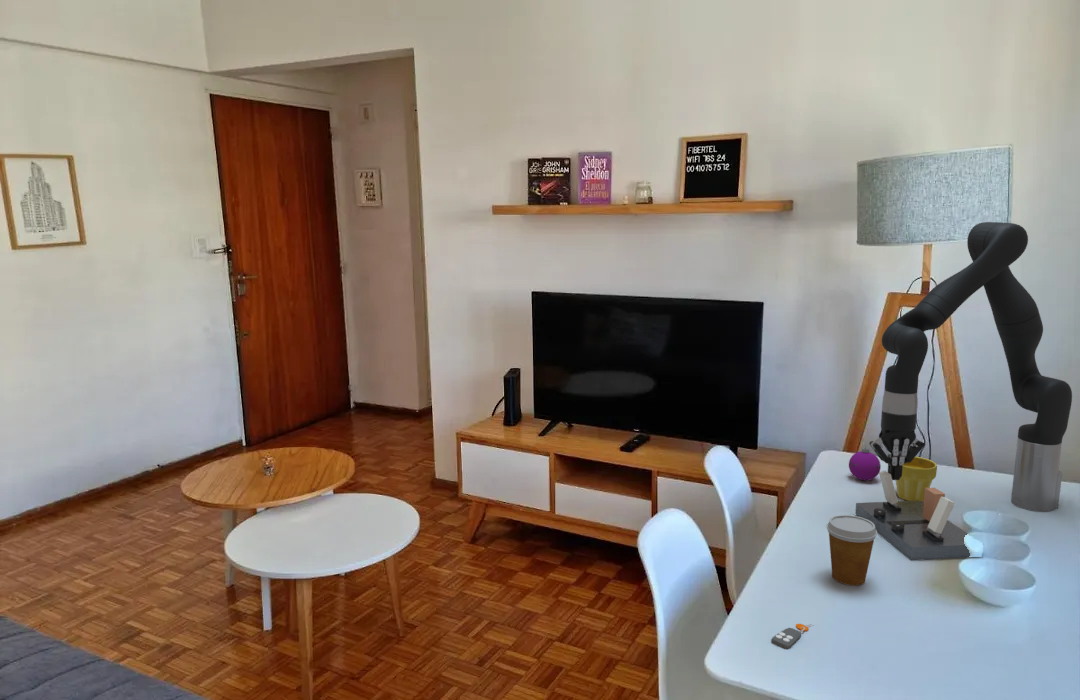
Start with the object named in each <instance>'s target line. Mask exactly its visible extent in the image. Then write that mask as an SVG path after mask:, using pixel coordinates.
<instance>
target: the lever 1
mask: <svg viewBox="0 0 1080 700" xmlns="http://www.w3.org/2000/svg"><path fill="white" fill-rule="evenodd" d="M878 475H879V477H880V478H879V479H880V482H881V487H882V489H883V490H882V491H883V493H884V498H885V501H886V502H889V503H890V504H891V505H893V506H894V507H896V508H897V507H898V505H897V504H896V503H898V501H899V500H898V497H897V493H896V490H895V486H894V482H893V481H894V480H892V477H891V474H889V473H888V471H887V470H881V471H880V472H879V474H878Z"/></svg>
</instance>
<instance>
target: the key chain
mask: <svg viewBox="0 0 1080 700" xmlns="http://www.w3.org/2000/svg"><path fill="white" fill-rule="evenodd" d="M813 626H815V625H814V624H812V623H809V624H802V623H796V624H795V627H796V628H797V629H798V630H797V629H796V628H793V627H788V628H785V629H783V630H782V631H780V632H779V633H777V634H775V635H774V636H772V638H771V639H770V642H771V643H772V644H773V645H775V646H778V647H780V648H781V649H785V650H789V649H791V648H792V647H793V646H794V645H795V644H797V642H798V641H799V640H800V639H801V637H802V633H803V632H808V631H809V628H811V627H813Z"/></svg>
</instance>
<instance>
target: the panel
mask: <svg viewBox="0 0 1080 700" xmlns="http://www.w3.org/2000/svg"><path fill="white" fill-rule="evenodd" d="M897 501H898V503H896V504H897V505H898V507H897V508H896V507H894V506H893V505H891V504H890V503H889V502H887V501H873V502H871V501H870V502H856V503H855V512H854V513H855V514H856V515H855V516H858V517H862V518H865V519H867V520H869V521H871V522H872V523H874V525H875V529H876V531H877V534H879V536H881V537H882V538H883V539H884V540H886V541H887V542H889V544H891V545H892V546H893V547H894V548H895V549H897V550H898V551H899V552H900V553H901V554H903V555H904V556H905V558H906V557H907V558H908V559H909V560H910V561H922V560H923V561H926V560H948V559H949V560H950V559H968V558H967V557H969V556H970V553H969V550H968V549H967V547H966V546H965V544H964V537H965V535H967V534H969V533H968V532H966V531H965V530H964V529H962V528H960V527H959V526H958V525H956V524H955V523H953V522H951V521H950V520H947V522H946V524H945V526H944V528H943V531H942V533H941V534H939V533H938V534H939V535H940V537H939V538H937V537H936V536H934V535H933V534H932V533H930V532H929V531H927V527H928V525H929V521H928V520H927V519H925V518H924V517H922V516H923V504H924V502H922V501H921V502H920V501H907V500H903V501H902V500H897Z"/></svg>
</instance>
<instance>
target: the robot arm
mask: <svg viewBox="0 0 1080 700" xmlns="http://www.w3.org/2000/svg"><path fill="white" fill-rule="evenodd" d="M966 242H967V250H968V253H969V255H970V258H971V260H972V262H971V263H970V264H969V265H967V266H966V267H964V268H963V269H961V270H959V271H958V272H957V273H955V274H952V275H951V276H949V277H947V278H946V279H944V280H943V281H941V282H939V283H938V284H936V285H935V286H934V287H933V288H932V289H931V290H929V292H927V294H925V296H924V297H923V298H922V299H921V300H920V301H919V302H918V304H916V306H915V307H913V308H912V309H911V310H909V311H907V312H906V313H904V314H903V315H901V316H900V317H898V318H897V319H895V320H894V321H893V322H892V323H891V324H889V326H887V327H886V329H885V330H884V332H883V334H882V337H881V345H882V347H883V349H884V350H885V351H886V352H888V353H890V354H893V355H897V359H896V360H897V361H896V363H895V364H893V365H890V366H888V367H887V368H886V370H885V378H884V390H883V396H882V403H881V404H882V405H881V415H880V416H881V419H880V428H881V429H880V431H879V434H878V438H876V439H875V440H874V441H873V440H871V441H869V443H868V444H869V446H870V447H871V449H872V450H873V451H874V453H875V454H876V456H877V458H878V459H879V460H880V461H881V462H884V463H885V464H887V472H888V473H889V474H891V477H892V481H896V480H900V478H901V476H902V468H903V464H904V463H907V462H908V463H910V462H911V461H912V460H913V459H914V457H915V456H916V457H917V456H918V454H919V452H921V451H922V449H923V448H924V447H925V445H926V444H925V443H924V442H923V441H921V440H919V439H918V438H917V434H916V433H915V432H916V431H915V430H916V429H917V416H918V415H917V414H918V408H919V407H918V406H919V405H918V404H919V401H918V399H919V398H918V389H919V388H918V387H919V376H920V373H921V370H922V369H923V365H924V362H925V359H926V357H927V354H928V350H929V339H928V337H927V335H926V333H925V332H926V331H932V330H937V329H938V328H939V329H940V327H941V326H942V325H944V323H945V322H946V321H947V320H949V318H950V317H951V316H952V315H953V314H954V313H955V312H956V311H957V310H958V309H959V307H961V306H962V305H963V304H964V303H965V302H966V301H967V300H968V299H969V298H970V297H971V296H972V295H973V294H975V293H976V292H977V291H979V290H980V289H981V288H982V287H983V288H984V291H985V294H986V297H987V300H988V303H989V306H990V308H991V312H992V317H993V320H994V322H995V326H996V330H997V333H998V335H999V339H1000V340H1001V344H1002V348H1003V352H1004V355H1005V359H1006V362H1007V366H1008V370H1009V371H1008V372H1009V378H1010V384H1011V390H1012V393H1013V398H1014V400H1015V401H1016V402H1015V403H1016V404H1017V405H1018V406H1019V407H1021V408H1022V409H1024V410H1027V411H1031V412H1033V413H1036V414H1037V415H1036V419H1035V422H1034V423H1028V424H1027V423H1025V424H1023V425H1020V426H1019V428H1018V431H1017V439H1016V441H1017V442H1016V448H1015V450H1016V451H1015V459H1014V467H1013V468H1014V469H1013V480H1012V486H1011V487H1012V489H1011V497H1010V502H1011V504H1013V505H1014V506H1016V507H1019V508H1021V509H1024V510H1025V509H1026V510H1029V511H1034V512H1051V511H1053V510H1055V509H1059V507H1060V506H1059V504H1060V496H1061V488H1062V478H1063V472H1062V471H1061V470H1060V461H1061V454H1062V453H1061V452H1062V445H1063V437H1064V436H1065V434H1066V432H1067V429H1068V424H1069V419H1070V413H1071V409H1072V403H1073V402H1072V401H1073V392H1072V388H1071V386H1070V385H1069V383H1068V382H1066V381H1065V380H1062V379H1058V378H1054V377H1050V376H1045V375H1042V374H1041V373H1040V371H1039V369H1038V366H1037V361H1036V356H1035V355H1036V351H1037V348H1038V347H1039V344H1040V343H1041V339H1042V337H1043V334H1044V325H1043V321H1042V317H1041V314H1040V311H1039V307H1038V304H1037V303H1036V301H1035V299H1034V298H1033V296H1032V295H1031V294H1030V293H1029V291H1027V289H1026V288H1025V287H1024V286H1023V285H1022V284H1021V282H1020V281H1019V280H1018V279H1017V278H1016V276H1014V274H1013V273H1012V271H1011V268H1010V266H1011V265H1012V264H1014V262H1016V261H1017V260H1018V259H1019V258H1020V257H1022V255H1023V254H1024V253H1025V251H1026V249H1027V247H1028V245H1029V244H1028V242H1029V235H1028V232H1027V230H1026V229H1025V228H1024V227H1023V226H1022V225H1020V224H1018V223H1013V222H999V221H998V222H995V221H986V222H985V221H984V222H980V223H976V224H975V225H974V226H973V227H972V228H971V229H970V231H969V233H968V236H967V241H966ZM883 447H885V451H884V450H883Z"/></svg>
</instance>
